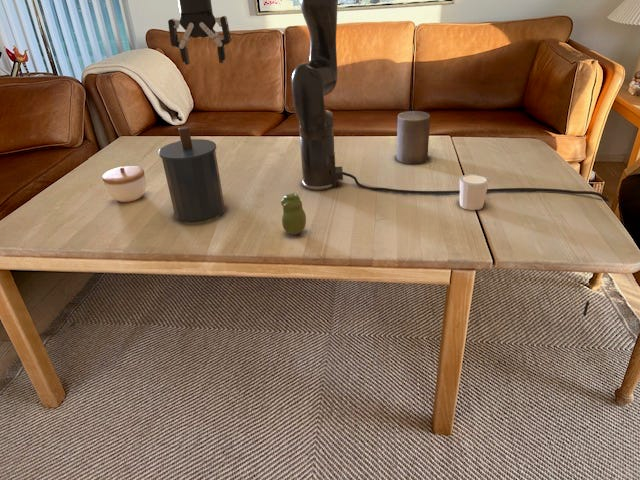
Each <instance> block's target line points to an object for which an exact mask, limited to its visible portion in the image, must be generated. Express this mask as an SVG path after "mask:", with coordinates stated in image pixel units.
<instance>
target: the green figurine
mask: <svg viewBox="0 0 640 480" xmlns="http://www.w3.org/2000/svg"><path fill="white" fill-rule="evenodd" d="M280 204H281V206H282V216H281V226H282V227H283V230H284V231H285V232H286V233H288V234H289V235H299V234H300V233H302V232H303V231H304V230H305V228H306V224H307V216H306V212H305V210H304V208H303V202H302V200H301V198H300V196H299V194H298V193H297V192H293V193H288V194H284V195H282V198H281V200H280Z"/></svg>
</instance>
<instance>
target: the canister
mask: <svg viewBox="0 0 640 480" xmlns="http://www.w3.org/2000/svg"><path fill="white" fill-rule="evenodd" d="M161 160H162V165H163V170H164V174H165V178H166V183H167V187H168V193H169V195H170V196H169V197H170V200H171V204H172V209H173V213H174V217H175V219H177V220H178V221H180V222H183V223H190V224H191V223H202V222H206V221H210V220H213V219H216V218H217V217H222V216H223V215H224V214H225V211H226V210H225V209H226V208H225V207H226V206H225V199H224V194H223V188H222V184H221V177H220V171H219V165H218V157H217V152H216V150H215V151H214V152H212V153H211V154H209V155H206V156H204V157H200V158H196V159H191V160H182V161H173V160H166V159H163V158H161Z"/></svg>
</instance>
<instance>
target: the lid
mask: <svg viewBox="0 0 640 480" xmlns="http://www.w3.org/2000/svg"><path fill="white" fill-rule="evenodd" d="M177 130H178V133H179V138H180V140H178V141H174V142H171V143H169V144H166V145H164V146H162V147H161V148H159V150H158V156H159V157H160V158H161V159H162V158H163V159H166V160H173V161H182V160H191V159H196V158H200V157H204V156H206V155H209V154H211V153H212V152H214V151H215V152H216V150H217V144H216V142H215V141H213V140H209V139H203V138H192V137H191V132H190V127H189V126H185V125H183V126H180V127H178V129H177Z"/></svg>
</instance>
